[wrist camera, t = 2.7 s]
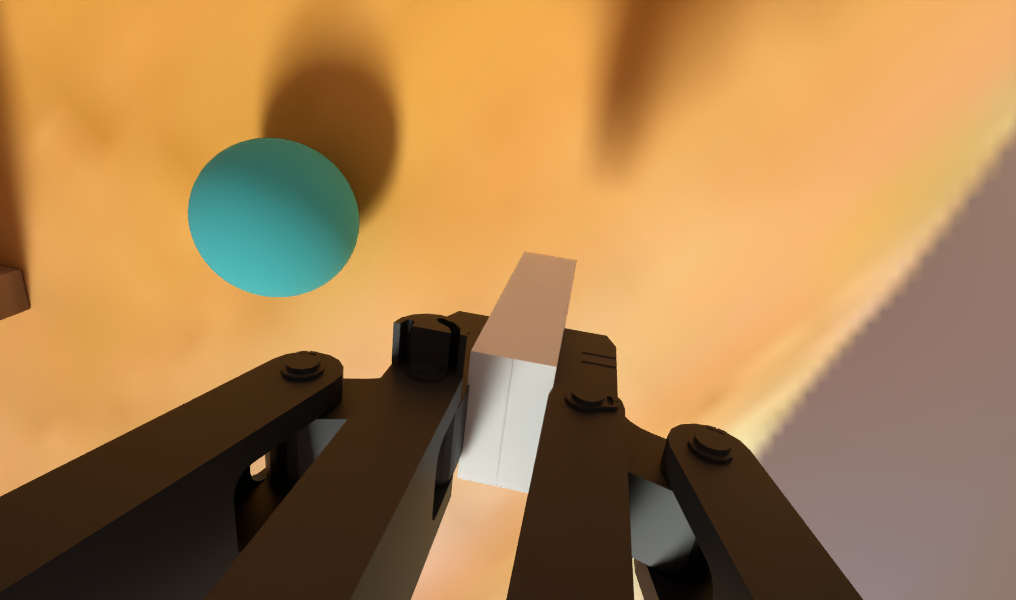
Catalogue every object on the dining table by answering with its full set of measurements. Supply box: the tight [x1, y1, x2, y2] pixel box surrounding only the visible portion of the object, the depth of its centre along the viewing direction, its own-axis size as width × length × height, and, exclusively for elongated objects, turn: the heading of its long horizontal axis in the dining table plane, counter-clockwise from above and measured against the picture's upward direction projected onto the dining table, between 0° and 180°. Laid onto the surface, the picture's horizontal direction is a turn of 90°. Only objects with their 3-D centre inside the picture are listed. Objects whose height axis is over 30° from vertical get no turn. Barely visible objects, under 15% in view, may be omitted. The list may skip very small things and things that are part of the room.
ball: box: [188, 138, 359, 297], centre depth 19 cm, size 6×6×6 cm
